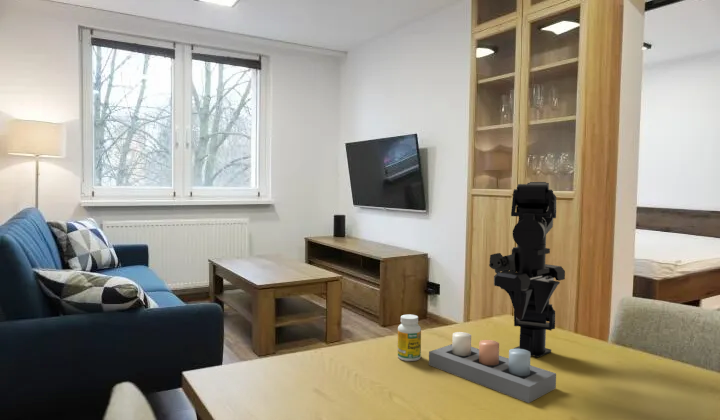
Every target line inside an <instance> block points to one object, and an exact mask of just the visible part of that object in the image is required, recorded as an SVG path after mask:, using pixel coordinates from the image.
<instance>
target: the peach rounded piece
mask: <svg viewBox="0 0 720 420" xmlns="http://www.w3.org/2000/svg"><path fill="white" fill-rule="evenodd" d="M478 343H479V344H478V349H479V362H480V363H482V364H485V365H497V364H499V356H500V342H498V341H497V340H492V339H481V340H479V342H478Z"/></svg>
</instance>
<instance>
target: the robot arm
mask: <svg viewBox="0 0 720 420" xmlns="http://www.w3.org/2000/svg"><path fill="white" fill-rule="evenodd" d="M512 191H513V192H512V203H511V213H510V216H511V217H518V220H517V223H516V224H515V225H514V227H513V229H512V239H513V241H514V242H515V244H516V246H515V247H512V249H511V254H509V255H508V254H507V255H504V256H503V254H502V253H500V252H497V253H493V254H490V255H489V264H488V267H490V269H492V270H494V273H495V275H493V286H494V287H499V288H500V289H501V290H504V291H505V292H506V293H507V294H508V296H509V299H510V301H511V304H512V308H513V326H514V327H519V346H516V347H514V348H513V349H524V350H527V351H529V352H530V353H531V355H530V357H531V356H532V357H535V358H540V357H543V356H546V355H548V354H549V353H550V354H551V353H552V349H551V348H547V347H546V343H547V342H546V339H547V338H546V337H547V334H546V333H547V331H549V332H550V331H551V332H552V330H556V310H555V309H554V307H553V304H550V300H551V297H552V296H553V294H554V292H555V290H556V289H557V287H558V286H559V285H560V284H561V282H560V281H563V280H564V281H565V280H566V271H565V269H564V268H563V266H561V265H553V264H546V255H547V254H550V252H551V248H549V247H548V248H547V234H548V233H549V232H550V231H551V229H552V228H553V227H554V219H557V196H556V195H555V193H554V190H553V189H550V182H546V181H530V182H527V183H518V184H517V185H516V188H514V189H513V190H512Z"/></svg>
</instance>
